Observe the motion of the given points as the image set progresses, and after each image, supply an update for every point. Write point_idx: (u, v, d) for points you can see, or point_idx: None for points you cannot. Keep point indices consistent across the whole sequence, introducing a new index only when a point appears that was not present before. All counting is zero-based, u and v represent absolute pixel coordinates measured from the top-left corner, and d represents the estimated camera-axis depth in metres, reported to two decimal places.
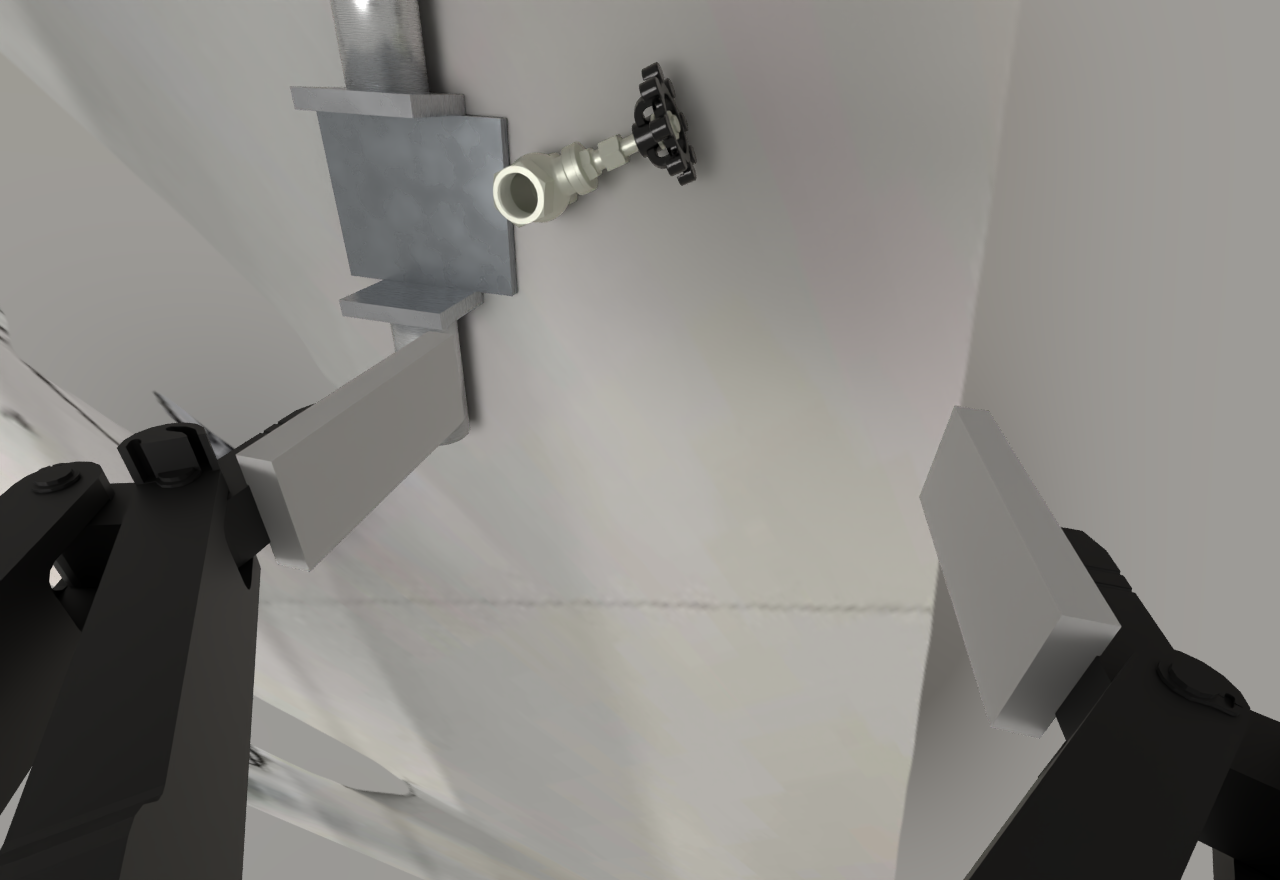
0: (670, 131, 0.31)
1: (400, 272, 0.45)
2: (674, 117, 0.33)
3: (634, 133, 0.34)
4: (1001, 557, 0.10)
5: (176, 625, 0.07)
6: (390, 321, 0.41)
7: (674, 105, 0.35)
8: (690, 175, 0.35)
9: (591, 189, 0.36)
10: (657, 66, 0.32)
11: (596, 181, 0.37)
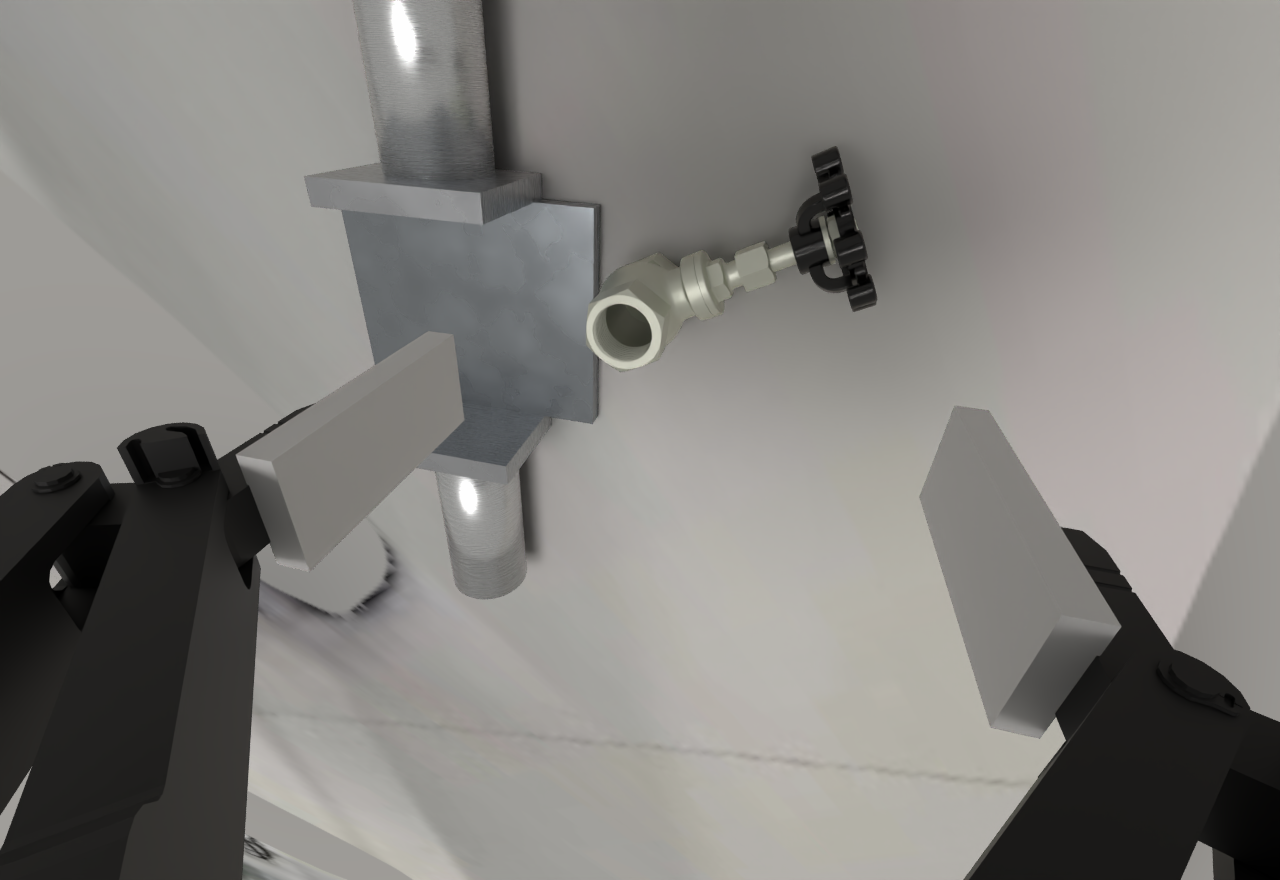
0: (866, 254, 0.21)
1: None
2: (855, 223, 0.23)
3: (794, 245, 0.23)
4: (1001, 557, 0.10)
5: (176, 624, 0.07)
6: (437, 470, 0.31)
7: None
8: None
9: (720, 314, 0.26)
10: (838, 153, 0.22)
11: None
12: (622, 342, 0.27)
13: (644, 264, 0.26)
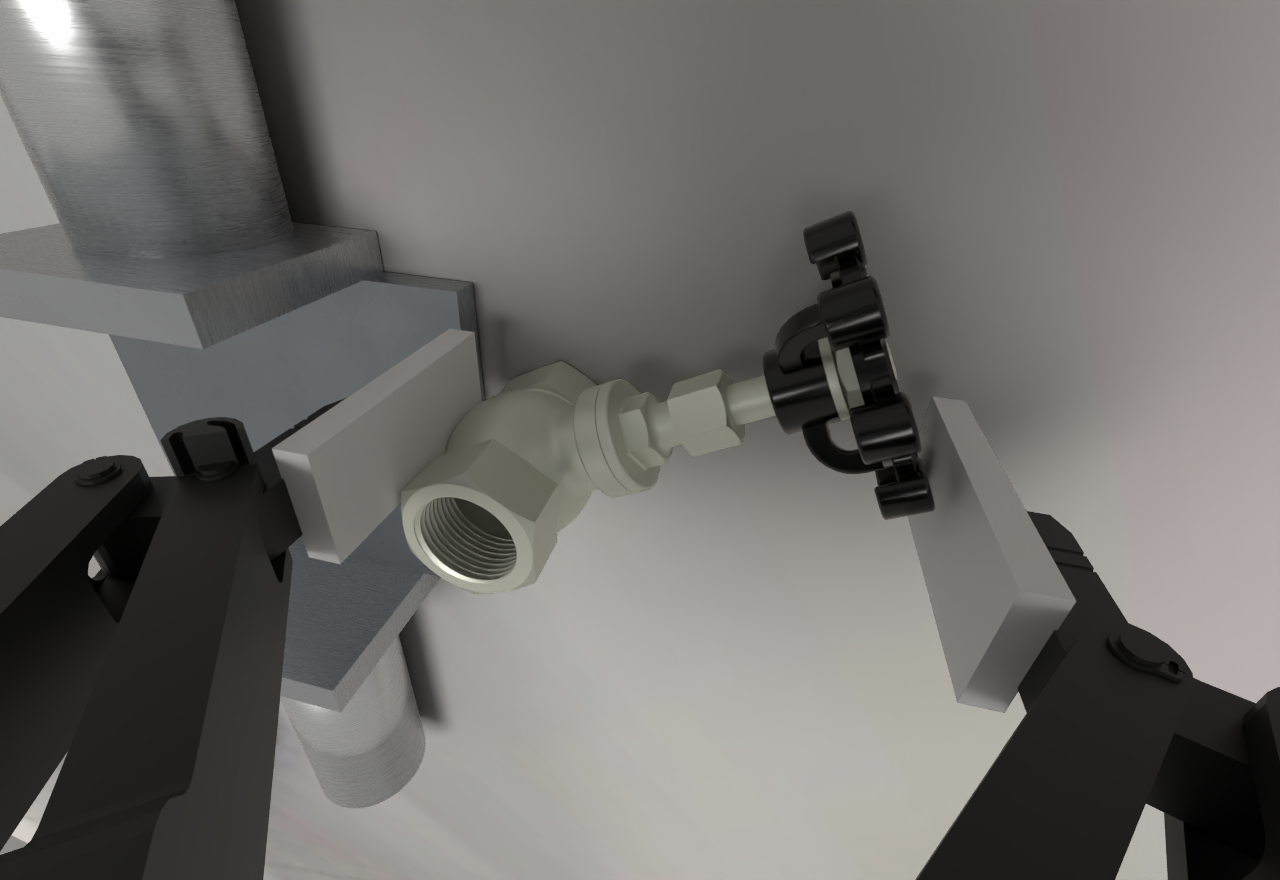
0: None
1: None
2: (889, 352, 0.12)
3: (773, 392, 0.12)
4: (969, 539, 0.10)
5: (209, 617, 0.07)
6: None
7: None
8: None
9: (649, 488, 0.15)
10: (857, 227, 0.11)
11: None
12: (487, 528, 0.16)
13: (518, 401, 0.15)
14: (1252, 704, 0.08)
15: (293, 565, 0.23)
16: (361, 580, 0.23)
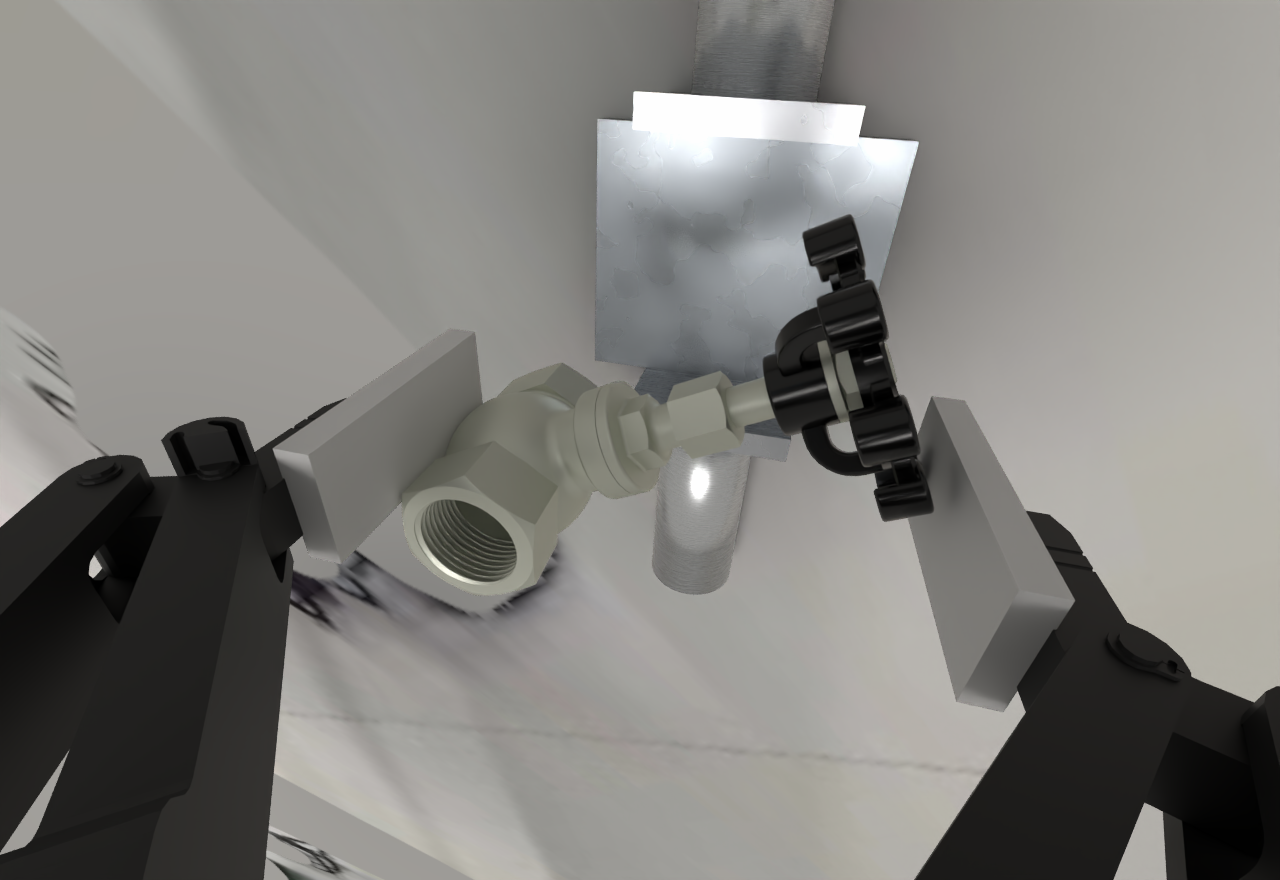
0: None
1: (675, 359, 0.31)
2: (888, 355, 0.12)
3: (773, 394, 0.12)
4: (968, 539, 0.10)
5: (210, 617, 0.07)
6: None
7: None
8: None
9: None
10: (856, 230, 0.11)
11: None
12: (487, 530, 0.16)
13: (519, 403, 0.15)
14: (1250, 703, 0.08)
15: None
16: None
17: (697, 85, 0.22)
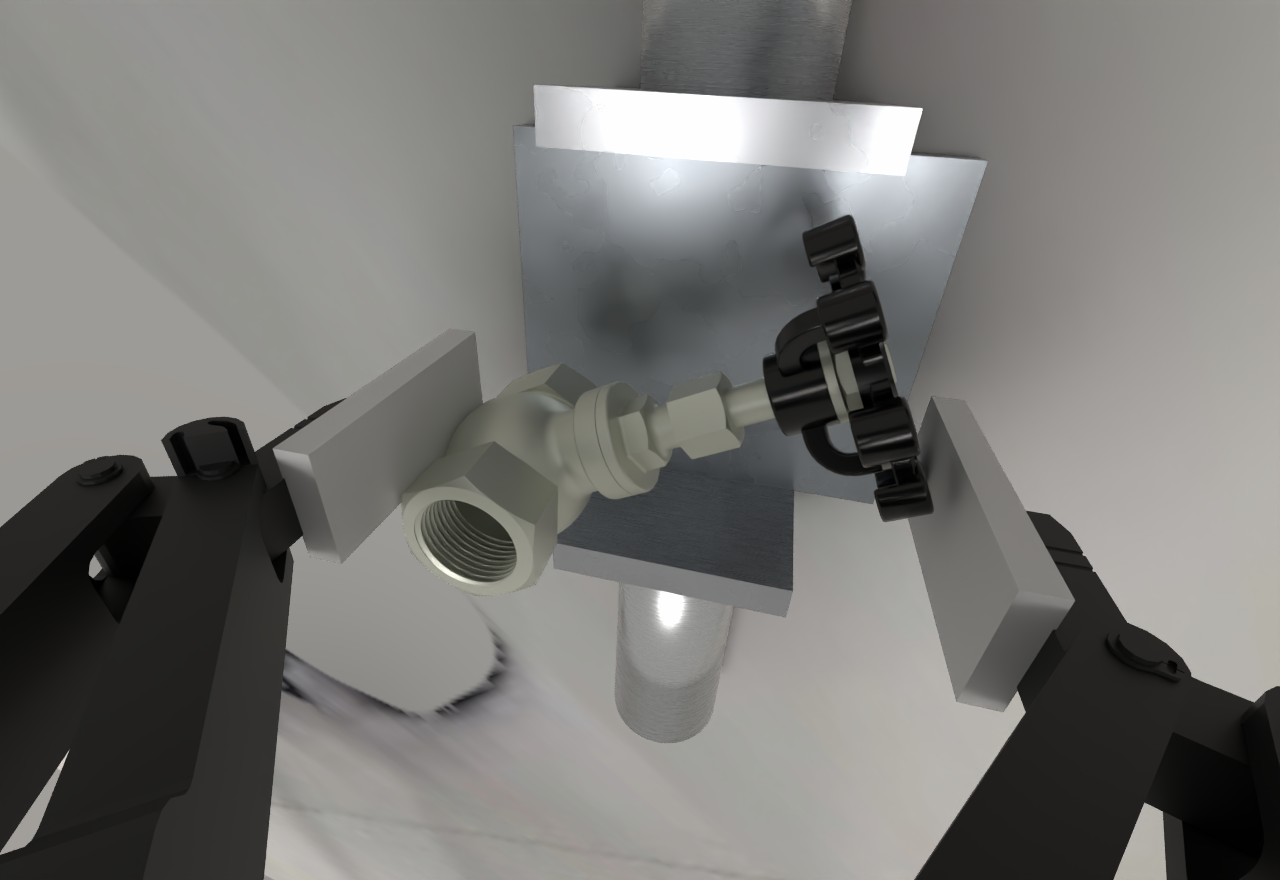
0: None
1: None
2: (888, 355, 0.12)
3: (773, 394, 0.12)
4: (968, 539, 0.10)
5: (209, 617, 0.07)
6: (663, 589, 0.19)
7: None
8: None
9: (648, 490, 0.15)
10: (856, 230, 0.11)
11: None
12: (487, 530, 0.16)
13: (518, 403, 0.15)
14: (1251, 703, 0.08)
15: (659, 482, 0.23)
16: (737, 495, 0.22)
17: (646, 75, 0.14)
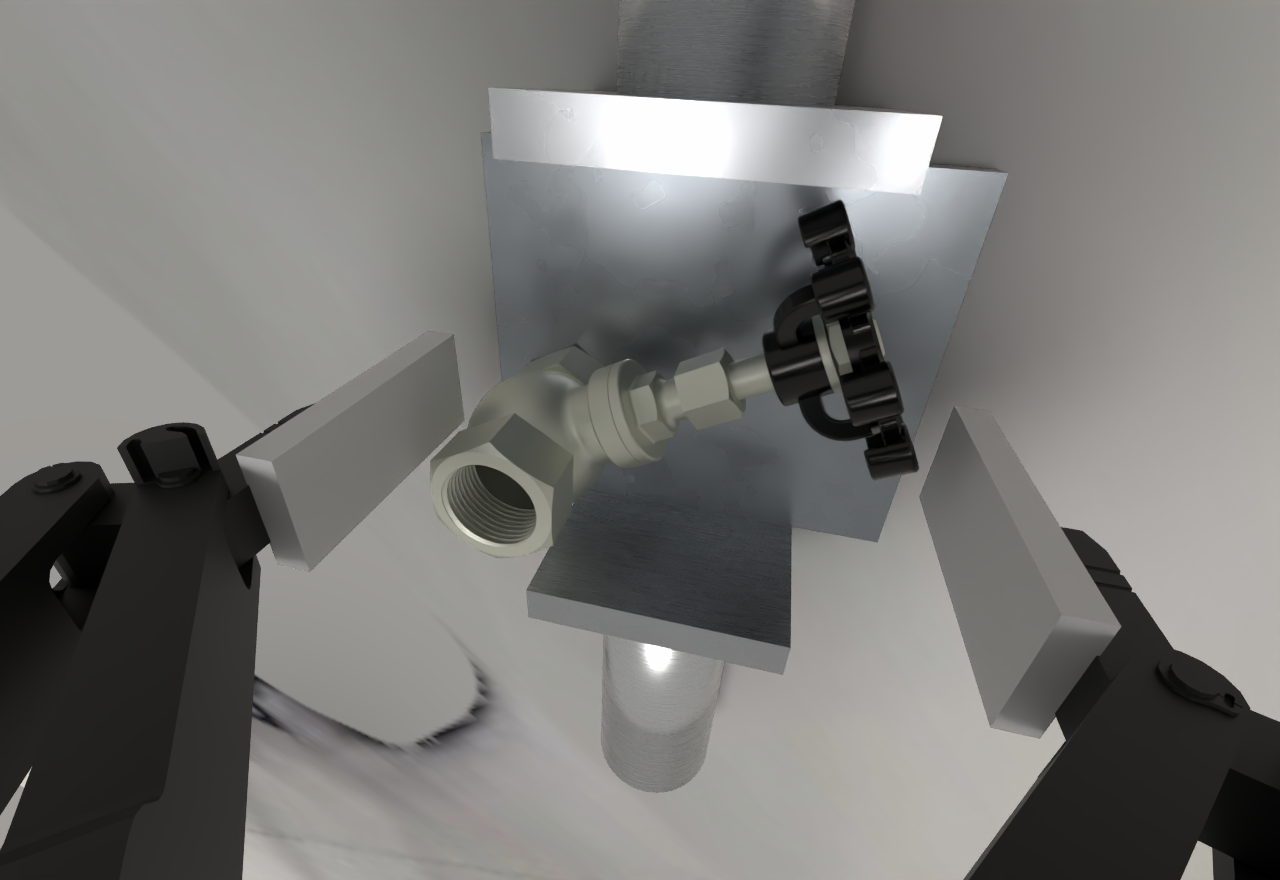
0: None
1: (621, 480, 0.22)
2: (876, 329, 0.13)
3: (772, 366, 0.14)
4: (1001, 557, 0.10)
5: (176, 624, 0.07)
6: (648, 642, 0.18)
7: None
8: None
9: (657, 460, 0.16)
10: (846, 214, 0.12)
11: None
12: (506, 499, 0.17)
13: (536, 380, 0.16)
14: None
15: (645, 517, 0.21)
16: (730, 533, 0.20)
17: (622, 77, 0.12)
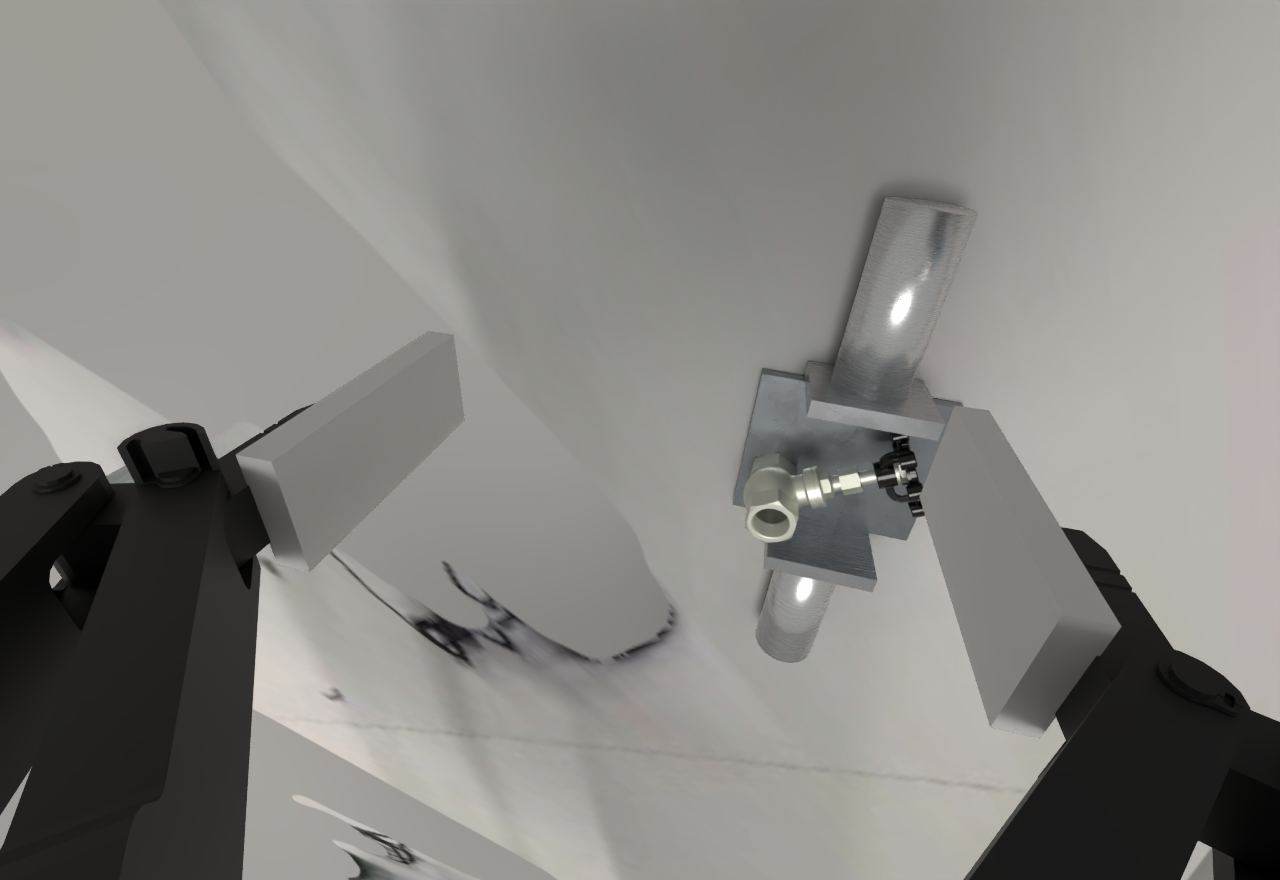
0: None
1: None
2: None
3: (878, 476, 0.39)
4: (1001, 557, 0.10)
5: (176, 624, 0.07)
6: (816, 578, 0.43)
7: None
8: None
9: None
10: None
11: None
12: (762, 519, 0.42)
13: (778, 473, 0.41)
14: None
15: (803, 526, 0.46)
16: (842, 535, 0.46)
17: (839, 382, 0.38)
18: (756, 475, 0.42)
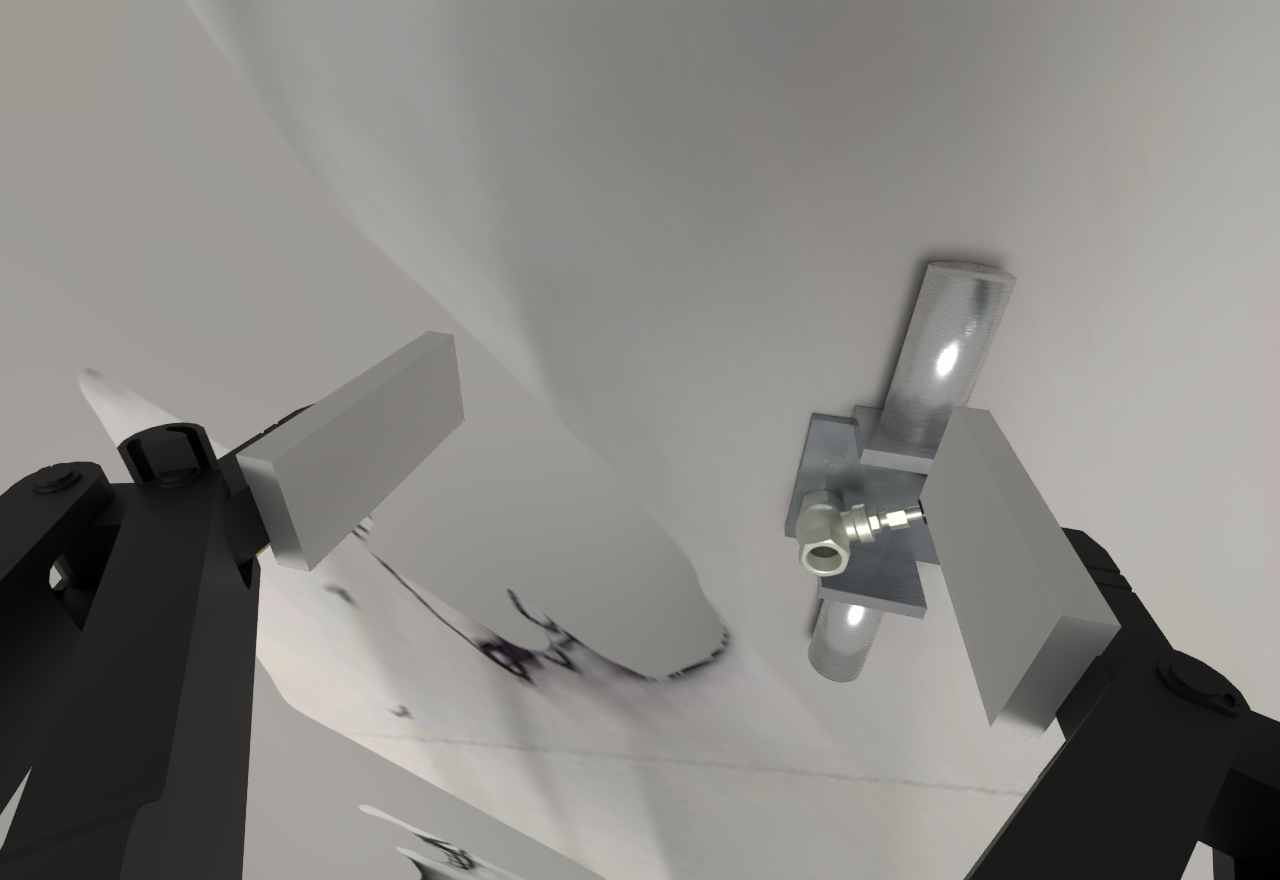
0: None
1: None
2: None
3: (923, 514, 0.42)
4: (1001, 557, 0.10)
5: (176, 624, 0.07)
6: (869, 607, 0.46)
7: None
8: None
9: None
10: None
11: None
12: (814, 554, 0.45)
13: (828, 511, 0.45)
14: None
15: (853, 556, 0.49)
16: (890, 563, 0.49)
17: (888, 429, 0.41)
18: (807, 513, 0.45)
